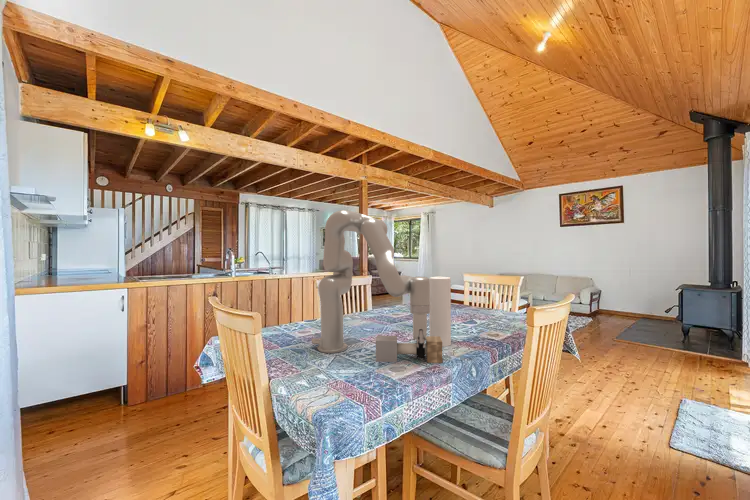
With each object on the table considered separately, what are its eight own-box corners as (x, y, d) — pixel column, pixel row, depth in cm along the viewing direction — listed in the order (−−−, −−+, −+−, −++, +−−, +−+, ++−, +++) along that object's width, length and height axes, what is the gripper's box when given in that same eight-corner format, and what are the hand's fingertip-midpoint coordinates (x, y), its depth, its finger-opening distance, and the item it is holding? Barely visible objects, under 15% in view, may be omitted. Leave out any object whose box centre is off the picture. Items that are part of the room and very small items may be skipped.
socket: (427, 362, 122) (427, 341, 122) (426, 356, 129) (426, 336, 129) (442, 362, 122) (442, 341, 121) (440, 356, 128) (440, 336, 128)
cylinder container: (449, 340, 150) (449, 275, 150) (452, 346, 141) (451, 277, 140) (428, 340, 151) (428, 275, 150) (430, 346, 142) (429, 277, 141)
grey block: (375, 361, 124) (375, 340, 124) (377, 355, 131) (377, 335, 131) (396, 362, 123) (396, 341, 123) (397, 355, 130) (397, 335, 130)
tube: (394, 356, 124) (394, 344, 124) (394, 352, 129) (394, 340, 129) (434, 357, 123) (433, 345, 123) (432, 353, 128) (432, 341, 127)
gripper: (409, 304, 134) (410, 348, 134) (410, 313, 117) (411, 363, 118) (428, 304, 133) (428, 349, 134) (431, 313, 117) (432, 364, 117)
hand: (420, 355), depth 126 cm, fingers closed on tube, 4 cm apart
